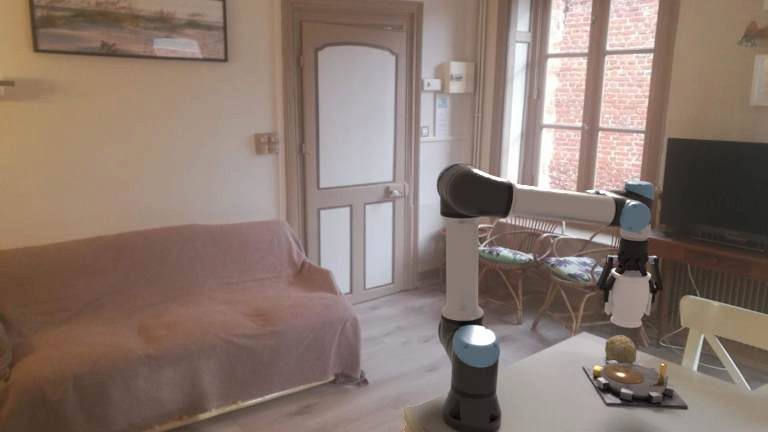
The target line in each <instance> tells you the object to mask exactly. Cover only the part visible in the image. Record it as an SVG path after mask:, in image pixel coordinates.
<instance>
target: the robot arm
mask: <svg viewBox="0 0 768 432" xmlns="http://www.w3.org/2000/svg"><path fill="white" fill-rule="evenodd" d="M436 190H437V193H438V195H439V205H440V206H439V208H440V211H439V214H440V216H441V218H442V219H443V220H444V221H445V235H446V236H445V240H446V241H445V242H446V243H445V244H446V245H445V249H446V250H445V257H446V258H445V261H446V262H445V263H446V264H445V265H446V268H445V271H446V276H445V277H446V283H445V284H446V305H444V306H443V307H442V308H441V310H440V319H439V322H438V326H437V333H438V339H439V342H440V344H441V345H442V347H443V349H444V350H445V353H446V355H447V356H448V359H449V361H450V363H451V378H450V379H451V380H450V389H449V391H448V393H447V396H446V398H445V401H444V403H443V406H442V419H443V421H444V422H445V423H446V424H447V426H449V427H450V428H452V429H453V430H456V431H459V432H494V431H495V430H497V429H498V428H499V427H500V426H501V424H502V410H501V406H500V403H499V399H498V395H497V387H498V376H499V375H498V373H499V363H500V355H501V348H500V340H499V339H500V338H499V337H498V336H497V334H496V333H495V332H494V331H493V330H491V329H490V328H488V329H487V327H485V326H484V322H485V321H484V319H485V318H484V316H485V315H484V312H485V311H484V310H483V308H482V307H480V306H479V243H480V242H479V241H480V240H479V238H480V237H479V231H480V230H479V227H480V226H479V224H480V223H479V222H480V221H481V220H482V218H495V219H504V220H505V219H508V218H509V217H511V216H514V217H515V216H516V217H525V218H531V219H541V220H542V219H543V220H551V221H558V222H565V223H566V222H567V223H577V224H583V225H584V224H585V225H596V226H602V227H610V228H617V229H620V232H619V234H620V235H621V236H620V237H619V243H618V252H617V255H610V254H607V255H606V256H605V263H604V266H603V269H602V271H601V273H600V275H599V278H598V281H597V283H596V288H598V289H599V290H600V291H602V302H603V303H604V310H603V311H604V312H605V314H607V315H608V316H609V315H611V313H612V312H611V302H612V292H611V291H610V290H611V289H612V287H613V286H614V283H615V280H616V278H615V277H613V276H612V274H611V270H612V269H613V267H614V264H615V263H616V261H618V264H617V266H616V267H615V268H616V269H615V272H616V273H618V274H620V275H622V274H623V273H624V272H625V271H626V270H627V271H631V270H634V271H638V270H639V271H640V273H641V275H642V277H645V276H647V275H648V273H647V272H648V270H647V269H646V267H645V265H646V264H647V262H648V263H649V264H650V269H651V272H652V274H651V275H652V279H653V281H652V279H650V280H648V282H649V299H648V303H647V306H646V310H645V313H644V315H646V316H650V315H651V308H652V304H654V303H655V299H656V295H657V294H658V292H663V290H664V285H663V282H662V277H661V272H660V266H659V264H660V258H659V257H658V256H656V255H655V254H653V255H651V256H650V255H648V254H649V247H650V246H649V245H650V240H649V238H650V236H651V229H652V228H651V227H652V218H653V210H654V201H655V185H654V184H653V183H652V182H650V181H644V180H628V181H626V182H625V183H624V186H623V188H622V189H595V188H594V189H586V190H584V191H583V192H579V191H573V190H571V191H570V190H562V189H556V188H555V189H554V188H546V187H539V186H531V185H523V184H516V183H514V181H513V180H512V179H509V178H503V177H499V176H495V175H491V174H489V173H487V172H484V171H483V170H480V169H478V168H477V167H476V166H474V165H473V164H470V163H468V162H453V163H451V164H448V165H446V166H445V167H444V168H443V169H442V170H441V171H440V173H439V174H438V176H437V179H436ZM610 274H611V275H610ZM653 282H654V283H653Z"/></svg>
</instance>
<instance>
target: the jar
mask: <svg viewBox="0 0 768 432" xmlns="http://www.w3.org/2000/svg"><path fill="white" fill-rule="evenodd" d="M615 269H616V267H614V268H612V269H611V272H610V274H611V275H612V276H613V277H615V278H616V280H615V283H614V286H613V287H612V289H611V290H610V291H611V292H612V302H611V312H610V313H611V315H612V316H611V317H610V322H611V323H613V324H614V325H616V326H619V327H622V328H626V329H631V328H632V329H637V328H639V327H641V326H642V325H643V321H642V320H641V319H642V318H643V317H644V315H645V310H646V306H647V303H648V299H649V282H648V280H650V279H651V278H652V274H651V273H650V272H648V271H647V273H648V275H647V276H645V277H642V275H641V273H640V271H639V270H638V271H634V270H631V271H627V270H626V271H625V272H624V273H623V274H622V275H620V274H618V273H616V272H615ZM651 280H652V279H651Z"/></svg>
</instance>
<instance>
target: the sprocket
mask: <svg viewBox="0 0 768 432" xmlns="http://www.w3.org/2000/svg"><path fill="white" fill-rule="evenodd" d="M594 366H595V367H594V369H593V376H597V377H599V378H597V383H596V385H598V386H599V387H600V388H601V389H610V390H611V391H613V392H615V393H618V394H620V398H623V399H626V400H630V401H632V398H636V399H648V400H649V401H651V402H652V403H656V402H662V397H663V395H664V394H666V395H670V396H672V395H673V391H675V389H674V388H675V385H674V384H672V383H668V379H669V375H667V369H668V364H666V363H662V362H661V363H660V365H659V369H658V371H657V372H655V371H653V370H651V369H648V368H649V367H645V364H644V363H640V362H636V361H635V362H633V364H629V363H618V362H617V361H615V360H610V361H609V360H606V361H605V365H602V366H603V367H600V366H601V365H594Z"/></svg>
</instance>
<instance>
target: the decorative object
mask: <svg viewBox="0 0 768 432" xmlns="http://www.w3.org/2000/svg"><path fill="white" fill-rule="evenodd" d="M604 351H605V357H606V358H607V361H610V360H615V361H617V362H618V363H629V364H633V362H636V359H637V348H636V345H635V344H634V342H633V340H632V339H630V338H629V337H627V336H626V335H623V334H619V335H617V334H615V335H614V336H612V337H610V338H608V339H607V340H606V341H605V348H604Z"/></svg>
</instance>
